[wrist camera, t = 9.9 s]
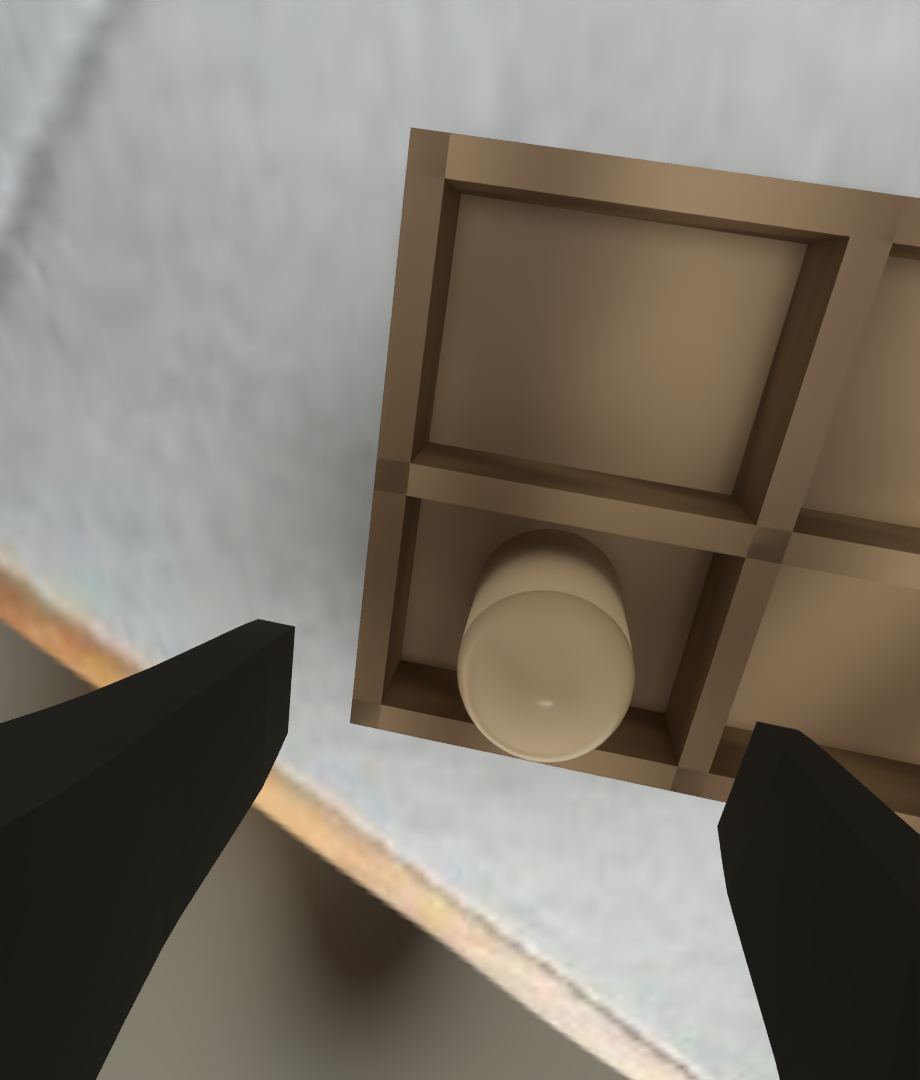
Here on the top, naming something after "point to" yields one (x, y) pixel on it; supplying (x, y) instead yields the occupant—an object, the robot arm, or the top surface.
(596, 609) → the cylinder
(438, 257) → the crate
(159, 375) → the top surface
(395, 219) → the top surface
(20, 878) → the robot arm
